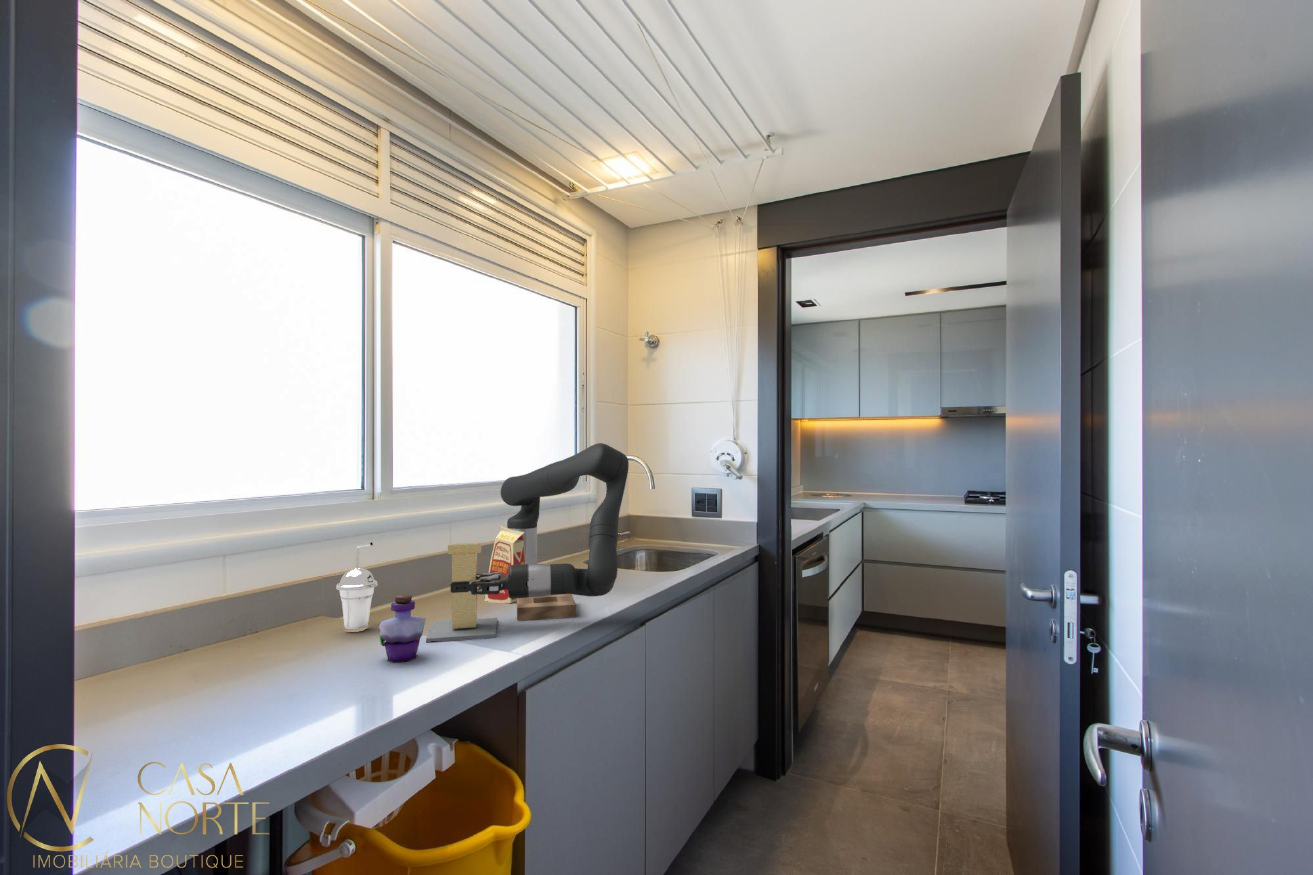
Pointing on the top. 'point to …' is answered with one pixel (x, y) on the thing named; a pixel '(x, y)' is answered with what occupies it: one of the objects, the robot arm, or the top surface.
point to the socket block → (546, 607)
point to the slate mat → (462, 631)
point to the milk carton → (506, 559)
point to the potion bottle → (402, 631)
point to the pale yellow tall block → (461, 572)
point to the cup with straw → (356, 594)
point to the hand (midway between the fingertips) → (452, 584)
